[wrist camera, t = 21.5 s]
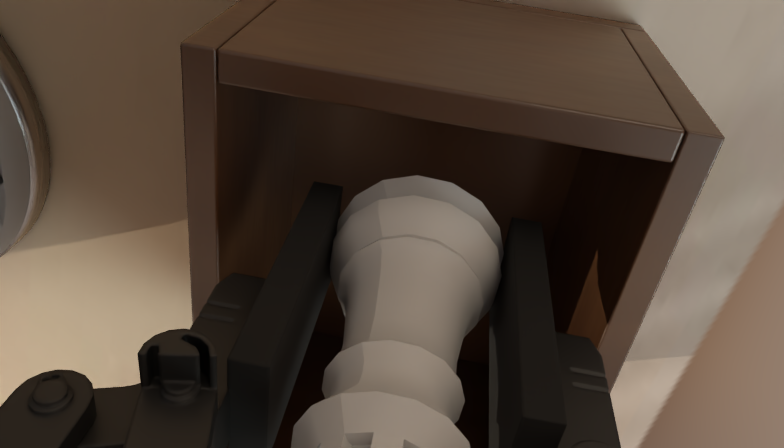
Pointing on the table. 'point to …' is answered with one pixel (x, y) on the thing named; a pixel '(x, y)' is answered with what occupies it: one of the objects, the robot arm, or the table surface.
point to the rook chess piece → (404, 315)
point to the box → (445, 150)
